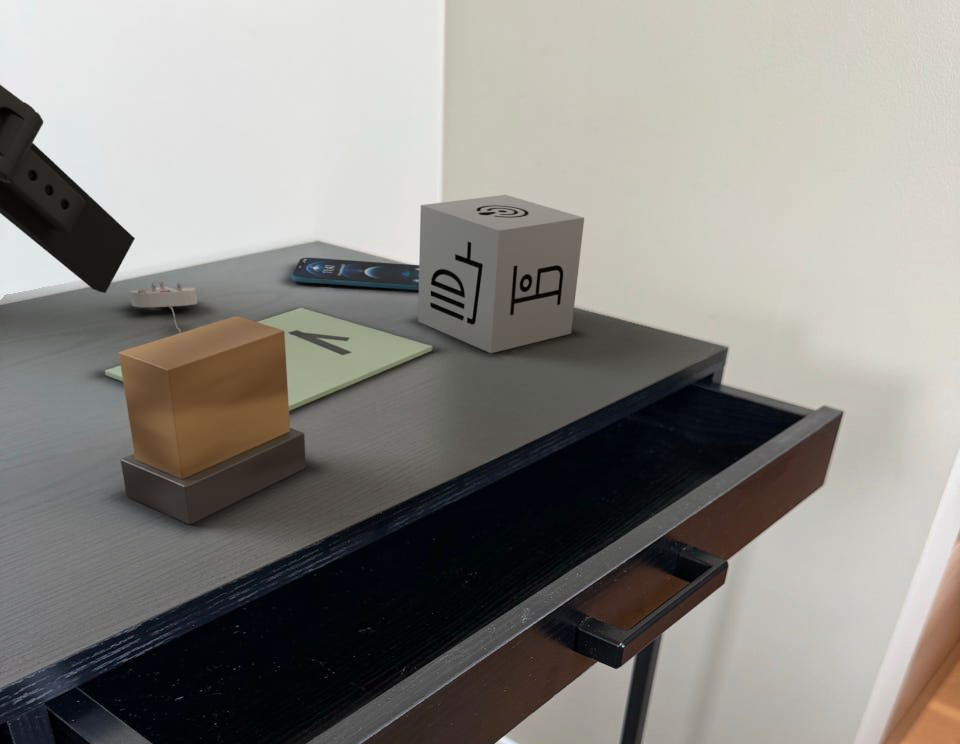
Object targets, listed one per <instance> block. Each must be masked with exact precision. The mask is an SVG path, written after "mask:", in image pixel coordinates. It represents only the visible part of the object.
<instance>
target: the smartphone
mask: <svg viewBox="0 0 960 744" xmlns="http://www.w3.org/2000/svg"><path fill="white" fill-rule="evenodd" d="M291 280H292V281H295V282H298V283H309V284H324V285H339V286H353V287H354V286H355V287H368V288H382V289H397V290H410V291H419V264H409V263H408V264H407V263H395V262H393V263H392V262H380V261H364V260H351V259H339V258H337V259H336V258H323V257H301V258H300V259H299V261H298V262H297V263H296V266H295V267H294V270H293V271H292V273H291Z"/></svg>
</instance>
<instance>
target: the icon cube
mask: <svg viewBox="0 0 960 744" xmlns="http://www.w3.org/2000/svg"><path fill="white" fill-rule="evenodd" d="M419 217H420V220H419V221H420V222H419V258H418V259H419V263H418V265H419V290H418V302H417V303H418V306H417V307H418V308H417V309H418V310H417V322H419V323H421V324H423V325H425V326H427V327H429V328H432V329H434V330H435V331H439V332H441V333H444V334H445V335H448V336H450V337H453V338H455V339H457V340H459V341H461V342H464V343H466V344H468V345H470V346H473V347H475V348H478V349H480V350H482V351H485V352H486V353H488V354H493V353H498V352H502V351H505V350H510V349H513V348H518V347H522V346H526V345H531V344H535V343H539V342H542V341H547V340H550V339H555V338H558V337H563V336H566V335H570V334H572V329H573V327H572V326H573V320H574V313H575V312H574V310H575V303H576V302H575V301H576V295H577V294H576V293H577V287H578V286H577V285H578V278H579V277H578V276H579V268H580V260H581V259H580V258H581V251H582V244H583V243H582V242H583V234H584V224H585V217H583V216H580V215H577V214H573V213H569V212H566V211H562V210H559V209H556V208H552V207H549V206H545V205H542V204H539V203H535V202H533V201H532V202H531V201H528V200H525V199H522V198H517V197H514V196H511V195H508V194H501V195H493V196H492V195H491V196H483V197H476V198H466V199H459V200H451V201H444V202H443V201H442V202H434V203H428V204H427V203H426V204H420V216H419Z"/></svg>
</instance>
